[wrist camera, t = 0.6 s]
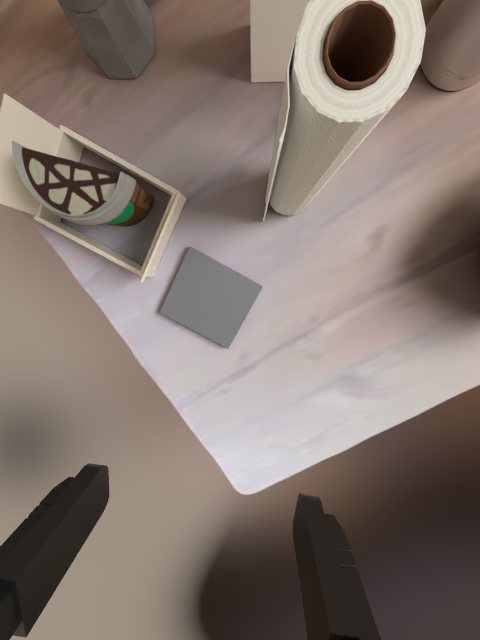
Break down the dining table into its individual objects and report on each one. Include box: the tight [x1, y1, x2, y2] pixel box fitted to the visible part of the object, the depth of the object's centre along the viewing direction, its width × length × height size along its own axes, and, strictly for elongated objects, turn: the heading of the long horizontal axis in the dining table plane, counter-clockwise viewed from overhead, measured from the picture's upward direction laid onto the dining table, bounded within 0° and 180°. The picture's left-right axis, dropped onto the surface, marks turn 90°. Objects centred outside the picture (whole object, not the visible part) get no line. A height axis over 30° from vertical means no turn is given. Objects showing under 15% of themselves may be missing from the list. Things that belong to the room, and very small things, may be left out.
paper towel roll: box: [263, 0, 426, 221], centre depth 21 cm, size 7×6×21 cm
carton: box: [0, 93, 186, 283], centre depth 29 cm, size 12×20×8 cm, turn 62°
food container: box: [12, 141, 154, 226], centre depth 28 cm, size 12×6×10 cm, turn 75°
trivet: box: [160, 247, 262, 349], centre depth 35 cm, size 11×12×1 cm
